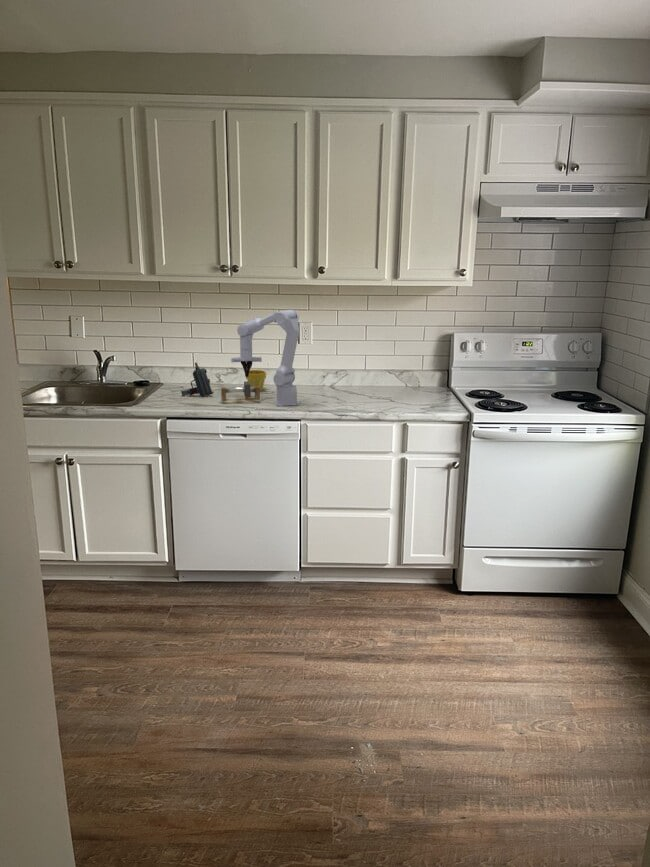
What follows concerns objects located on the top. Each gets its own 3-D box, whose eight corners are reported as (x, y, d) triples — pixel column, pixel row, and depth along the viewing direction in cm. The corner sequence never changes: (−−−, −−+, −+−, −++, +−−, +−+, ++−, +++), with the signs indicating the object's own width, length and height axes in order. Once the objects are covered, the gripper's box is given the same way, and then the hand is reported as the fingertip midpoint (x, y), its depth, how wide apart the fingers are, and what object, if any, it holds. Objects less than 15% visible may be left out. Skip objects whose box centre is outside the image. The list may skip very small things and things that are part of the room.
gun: (174, 367, 312) (203, 360, 312) (184, 400, 317) (213, 392, 317) (173, 369, 310) (202, 361, 309) (184, 401, 315) (213, 393, 314)
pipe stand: (258, 399, 310) (258, 385, 308) (260, 402, 305) (260, 387, 303) (221, 401, 307) (220, 386, 304) (222, 404, 301) (221, 389, 299)
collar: (249, 394, 309) (249, 381, 307) (250, 397, 303) (250, 384, 301) (244, 394, 308) (243, 381, 306) (245, 397, 302) (245, 384, 300)
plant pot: (264, 392, 324) (264, 374, 321) (244, 392, 324) (244, 373, 322) (267, 388, 334) (267, 369, 331) (247, 387, 334) (247, 369, 331)
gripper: (260, 347, 313) (260, 374, 317) (230, 347, 310) (231, 375, 314) (261, 349, 306) (262, 377, 310) (231, 350, 303) (232, 378, 307)
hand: (246, 376), depth 312 cm, fingers closed
